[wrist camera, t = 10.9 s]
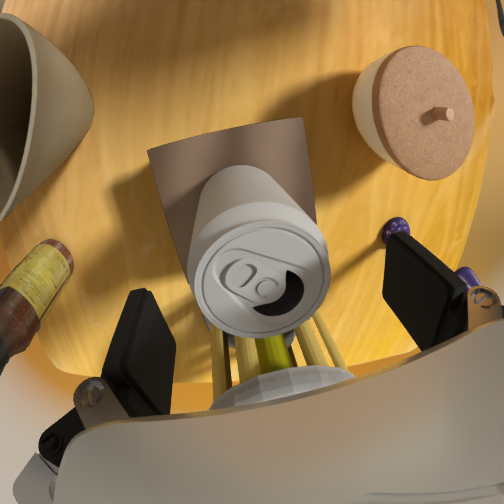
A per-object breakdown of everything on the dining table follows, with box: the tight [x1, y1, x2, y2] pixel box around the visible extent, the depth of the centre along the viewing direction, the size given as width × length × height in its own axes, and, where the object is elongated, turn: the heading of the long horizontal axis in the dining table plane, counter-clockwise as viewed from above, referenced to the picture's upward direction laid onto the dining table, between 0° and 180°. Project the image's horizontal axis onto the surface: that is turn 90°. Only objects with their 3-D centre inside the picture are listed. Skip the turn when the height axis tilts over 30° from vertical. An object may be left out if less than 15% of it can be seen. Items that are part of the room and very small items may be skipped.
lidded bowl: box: [352, 45, 475, 180], centre depth 21 cm, size 13×13×11 cm
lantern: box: [203, 309, 355, 410], centre depth 24 cm, size 14×14×25 cm
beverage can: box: [187, 165, 331, 338], centre depth 16 cm, size 6×6×12 cm
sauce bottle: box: [0, 239, 74, 375], centre depth 20 cm, size 6×6×20 cm
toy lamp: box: [382, 217, 482, 292], centre depth 26 cm, size 5×5×17 cm
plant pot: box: [0, 13, 94, 222], centre depth 15 cm, size 15×15×16 cm
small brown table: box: [147, 117, 317, 284], centre depth 25 cm, size 12×12×7 cm
